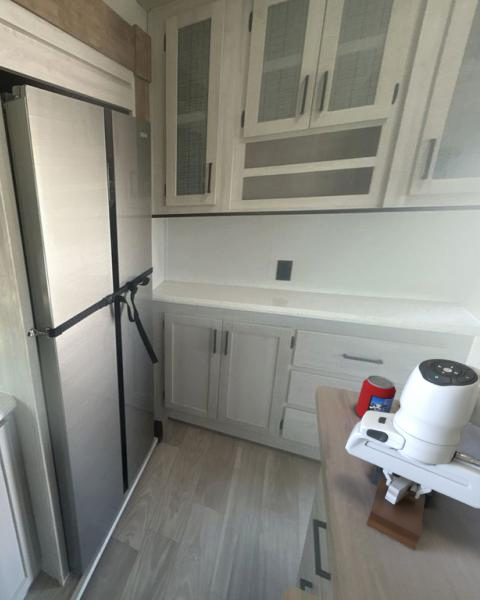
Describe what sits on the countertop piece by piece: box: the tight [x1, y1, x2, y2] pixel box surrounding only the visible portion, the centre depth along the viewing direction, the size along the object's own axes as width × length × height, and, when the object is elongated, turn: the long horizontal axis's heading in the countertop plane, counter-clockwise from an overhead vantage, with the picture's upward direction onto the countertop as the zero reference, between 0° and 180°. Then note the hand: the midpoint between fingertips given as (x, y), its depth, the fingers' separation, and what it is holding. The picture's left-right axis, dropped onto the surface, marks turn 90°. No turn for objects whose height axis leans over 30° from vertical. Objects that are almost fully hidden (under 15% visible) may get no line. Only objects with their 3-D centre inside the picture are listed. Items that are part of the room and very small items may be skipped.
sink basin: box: [370, 465, 434, 509], centre depth 75 cm, size 14×9×4 cm, turn 133°
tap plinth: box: [366, 476, 425, 551], centre depth 67 cm, size 11×7×4 cm, turn 133°
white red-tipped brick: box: [385, 476, 418, 504], centre depth 67 cm, size 8×2×4 cm, turn 114°
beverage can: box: [355, 375, 397, 418], centre depth 90 cm, size 7×7×12 cm
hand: (401, 489), depth 68 cm, fingers closed on white red-tipped brick, 2 cm apart
